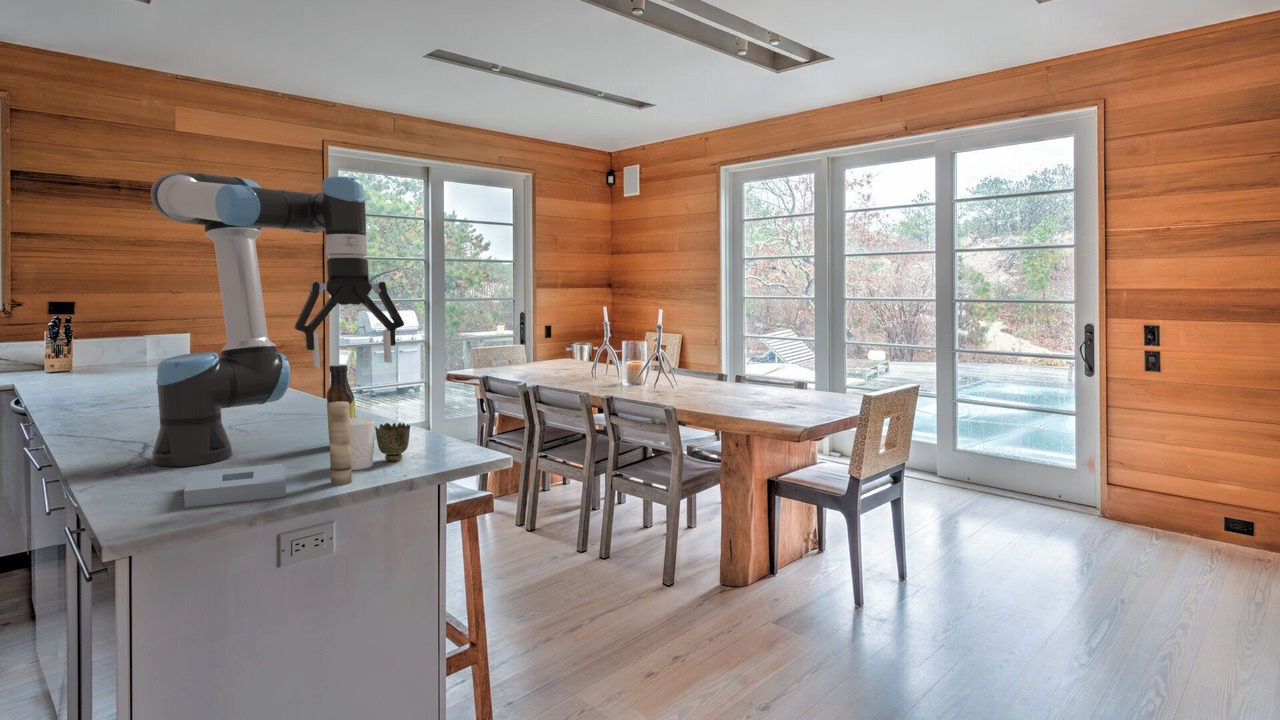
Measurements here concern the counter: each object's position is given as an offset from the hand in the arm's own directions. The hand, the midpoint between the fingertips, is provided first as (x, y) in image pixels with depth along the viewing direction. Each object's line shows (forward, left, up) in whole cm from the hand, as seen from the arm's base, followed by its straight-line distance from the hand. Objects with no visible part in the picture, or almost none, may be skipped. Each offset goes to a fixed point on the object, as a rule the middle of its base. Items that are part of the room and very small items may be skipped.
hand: (353, 364), depth 144 cm
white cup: (-10, +1, -24) cm, 26 cm away
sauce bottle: (-32, 0, -24) cm, 40 cm away
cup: (-12, +9, -24) cm, 28 cm away
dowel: (+2, -3, -23) cm, 24 cm away
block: (+1, -21, -23) cm, 31 cm away
